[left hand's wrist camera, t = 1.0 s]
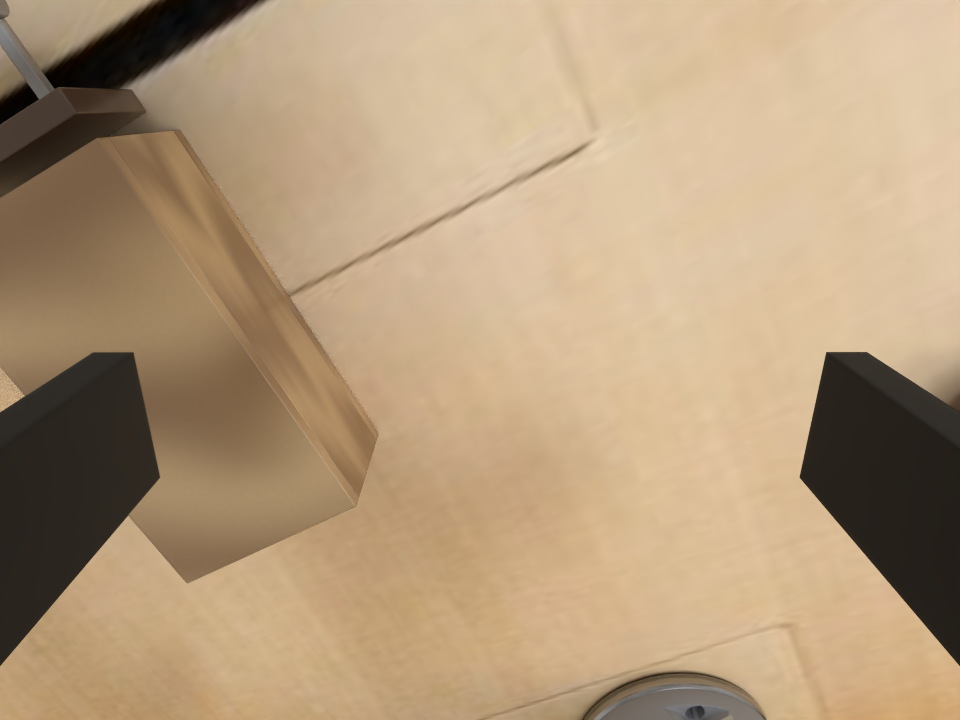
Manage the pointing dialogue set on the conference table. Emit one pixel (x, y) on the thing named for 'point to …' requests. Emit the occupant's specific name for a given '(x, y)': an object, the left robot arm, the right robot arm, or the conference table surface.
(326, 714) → the conference table surface
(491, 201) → the conference table surface
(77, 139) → the drawer
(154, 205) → the cabinet
